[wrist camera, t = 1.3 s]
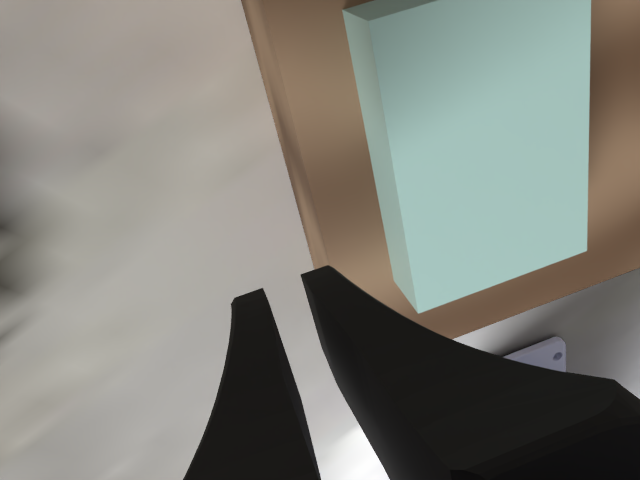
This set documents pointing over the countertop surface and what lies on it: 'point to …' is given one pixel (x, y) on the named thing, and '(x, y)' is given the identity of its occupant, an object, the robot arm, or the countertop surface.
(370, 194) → the deck
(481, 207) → the pale teal block
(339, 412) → the countertop surface
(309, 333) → the countertop surface
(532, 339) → the countertop surface
